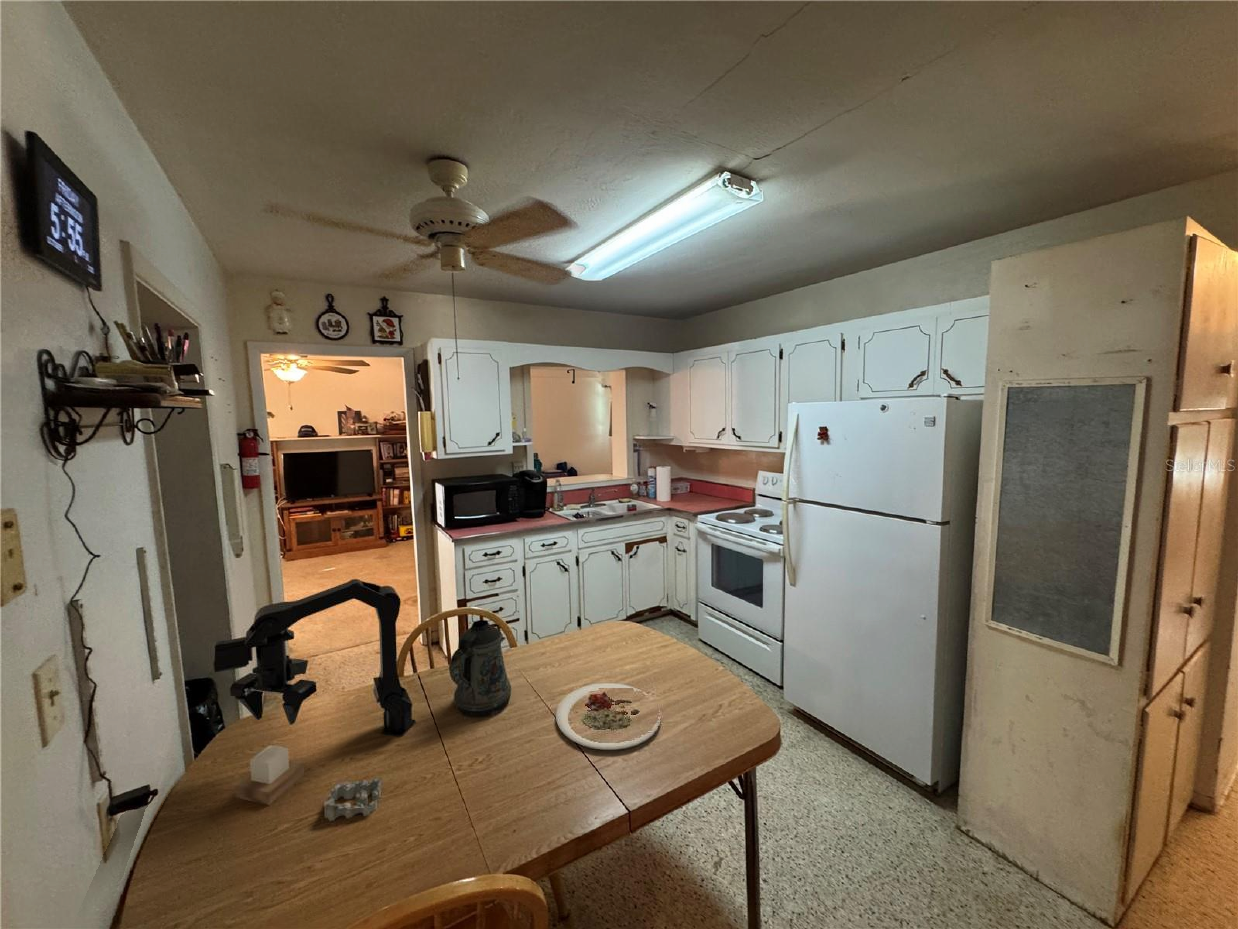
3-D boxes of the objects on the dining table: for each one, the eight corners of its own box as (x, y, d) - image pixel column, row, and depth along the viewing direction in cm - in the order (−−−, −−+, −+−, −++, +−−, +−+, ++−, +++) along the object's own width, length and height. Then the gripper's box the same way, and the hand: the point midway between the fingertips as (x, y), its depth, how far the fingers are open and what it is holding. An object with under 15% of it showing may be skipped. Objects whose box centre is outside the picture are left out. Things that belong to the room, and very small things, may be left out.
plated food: (618, 773, 119) (618, 760, 119) (533, 723, 137) (533, 712, 137) (680, 713, 143) (680, 703, 143) (601, 678, 161) (601, 668, 161)
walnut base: (303, 775, 116) (303, 763, 115) (269, 805, 107) (268, 792, 107) (272, 769, 117) (271, 757, 117) (236, 797, 109) (235, 785, 108)
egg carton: (320, 824, 103) (319, 806, 102) (334, 796, 110) (333, 779, 110) (374, 817, 105) (373, 800, 104) (384, 790, 112) (384, 774, 112)
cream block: (289, 768, 114) (287, 748, 113) (269, 784, 109) (268, 763, 108) (271, 764, 115) (270, 745, 114) (251, 780, 110) (250, 759, 109)
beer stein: (515, 686, 155) (515, 611, 152) (503, 726, 135) (502, 640, 133) (463, 686, 154) (462, 610, 151) (443, 725, 135) (441, 639, 132)
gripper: (332, 647, 121) (335, 706, 123) (267, 640, 125) (271, 697, 126) (295, 671, 111) (299, 734, 112) (225, 662, 114) (230, 724, 116)
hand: (275, 721), depth 117 cm, fingers open, 9 cm apart
